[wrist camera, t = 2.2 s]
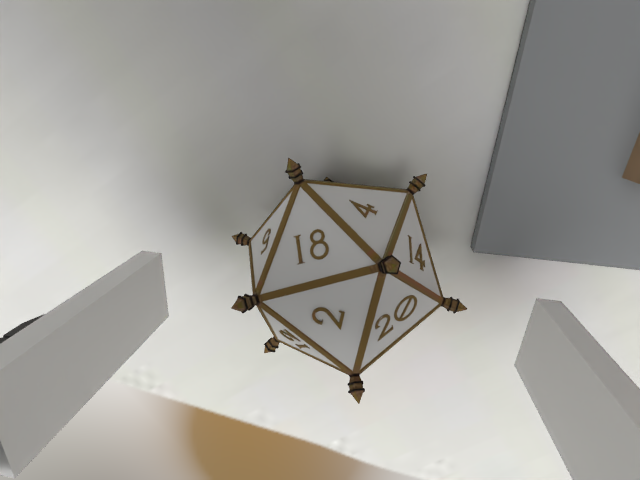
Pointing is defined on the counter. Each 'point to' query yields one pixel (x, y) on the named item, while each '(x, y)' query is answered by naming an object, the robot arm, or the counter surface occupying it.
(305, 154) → the counter surface
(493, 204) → the build mat
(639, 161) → the walnut block
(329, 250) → the game die
